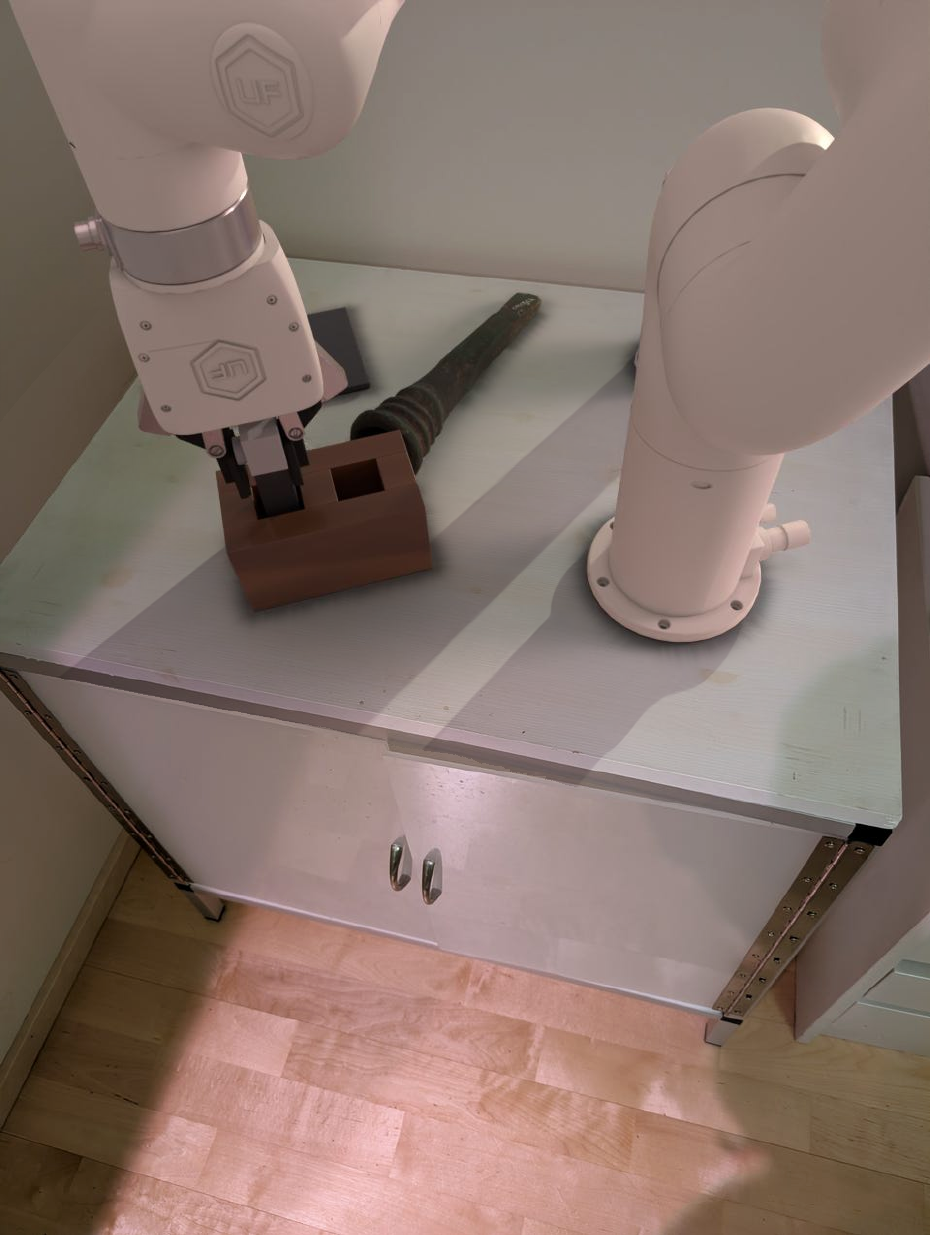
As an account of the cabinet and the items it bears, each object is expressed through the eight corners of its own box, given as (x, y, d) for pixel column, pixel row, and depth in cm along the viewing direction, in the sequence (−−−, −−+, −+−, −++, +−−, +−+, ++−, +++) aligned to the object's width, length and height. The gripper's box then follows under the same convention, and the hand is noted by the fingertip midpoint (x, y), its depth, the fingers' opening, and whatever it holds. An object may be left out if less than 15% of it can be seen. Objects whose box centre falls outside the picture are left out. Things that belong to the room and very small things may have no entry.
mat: (346, 311, 83) (345, 306, 83) (370, 387, 77) (369, 382, 76) (216, 338, 82) (214, 333, 81) (229, 418, 75) (227, 413, 75)
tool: (414, 500, 68) (406, 440, 63) (351, 470, 71) (338, 410, 65) (578, 319, 81) (583, 255, 75) (521, 298, 83) (522, 235, 78)
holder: (240, 532, 67) (215, 470, 62) (409, 493, 69) (399, 429, 63) (252, 612, 63) (226, 553, 57) (433, 568, 64) (425, 506, 58)
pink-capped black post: (309, 534, 67) (269, 390, 55) (318, 576, 64) (278, 434, 52) (271, 542, 66) (223, 399, 55) (279, 585, 64) (230, 444, 52)
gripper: (19, 300, 40) (155, 545, 55) (354, 234, 42) (396, 489, 57) (25, 219, 44) (149, 467, 59) (328, 162, 46) (374, 417, 61)
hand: (270, 476), depth 58 cm, fingers closed on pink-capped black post, 3 cm apart
